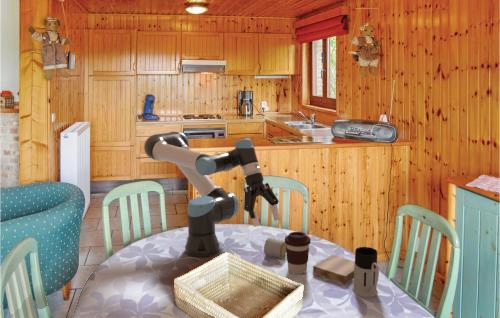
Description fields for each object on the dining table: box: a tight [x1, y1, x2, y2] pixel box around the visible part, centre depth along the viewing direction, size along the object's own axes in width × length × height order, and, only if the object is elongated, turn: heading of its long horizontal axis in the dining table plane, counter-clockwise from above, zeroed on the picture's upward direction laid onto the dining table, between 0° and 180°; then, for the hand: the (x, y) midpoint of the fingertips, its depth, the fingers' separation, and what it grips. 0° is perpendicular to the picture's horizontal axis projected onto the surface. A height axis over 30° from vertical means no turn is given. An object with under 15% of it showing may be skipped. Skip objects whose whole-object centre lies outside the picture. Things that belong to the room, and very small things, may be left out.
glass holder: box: [351, 246, 380, 298], centre depth 152 cm, size 9×14×15 cm, turn 8°
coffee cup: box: [284, 231, 311, 275], centre depth 171 cm, size 10×10×15 cm
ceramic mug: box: [263, 237, 287, 259], centre depth 188 cm, size 11×8×8 cm
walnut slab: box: [312, 254, 355, 285], centre depth 170 cm, size 14×14×3 cm
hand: (267, 223), depth 182 cm, fingers open, 13 cm apart
